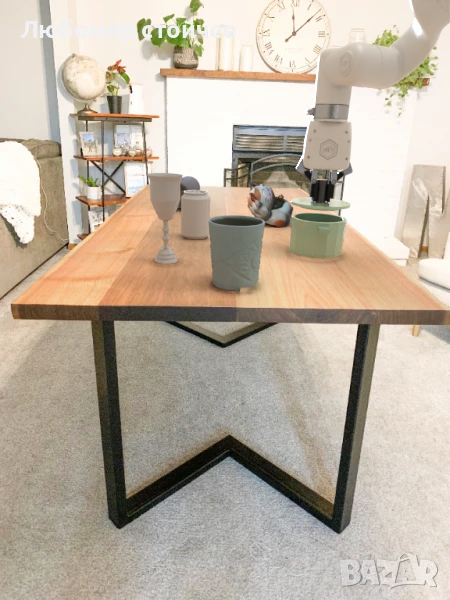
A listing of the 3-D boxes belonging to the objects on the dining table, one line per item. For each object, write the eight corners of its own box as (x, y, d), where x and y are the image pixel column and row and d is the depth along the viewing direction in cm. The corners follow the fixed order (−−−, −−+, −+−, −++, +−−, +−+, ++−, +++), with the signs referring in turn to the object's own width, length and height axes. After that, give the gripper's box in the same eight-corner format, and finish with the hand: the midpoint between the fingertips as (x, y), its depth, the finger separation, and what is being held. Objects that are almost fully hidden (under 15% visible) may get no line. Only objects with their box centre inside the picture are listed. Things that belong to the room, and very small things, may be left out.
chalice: (143, 262, 94) (140, 175, 88) (158, 254, 100) (156, 172, 94) (174, 266, 92) (173, 177, 85) (188, 258, 98) (188, 174, 91)
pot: (334, 244, 115) (338, 211, 112) (349, 264, 98) (354, 226, 95) (285, 242, 115) (288, 209, 112) (292, 262, 98) (296, 224, 95)
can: (177, 239, 114) (177, 191, 110) (185, 232, 121) (185, 188, 117) (206, 241, 113) (207, 193, 109) (211, 234, 120) (213, 189, 116)
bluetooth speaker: (177, 200, 172) (177, 174, 169) (201, 202, 172) (201, 175, 168) (164, 210, 151) (163, 180, 148) (191, 212, 150) (191, 182, 147)
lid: (343, 203, 109) (346, 177, 106) (356, 213, 96) (360, 184, 94) (287, 201, 109) (289, 175, 107) (293, 211, 96) (296, 181, 94)
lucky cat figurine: (291, 229, 130) (273, 186, 124) (254, 240, 136) (235, 200, 129) (297, 206, 142) (281, 167, 135) (263, 217, 147) (246, 180, 140)
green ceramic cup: (267, 291, 80) (272, 225, 76) (212, 293, 78) (214, 226, 74) (252, 273, 89) (256, 214, 85) (203, 275, 87) (204, 214, 83)
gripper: (294, 112, 92) (286, 202, 99) (372, 115, 92) (359, 205, 98) (291, 113, 99) (284, 197, 106) (363, 116, 99) (351, 200, 105)
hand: (320, 200), depth 102 cm, fingers closed on lid, 2 cm apart
